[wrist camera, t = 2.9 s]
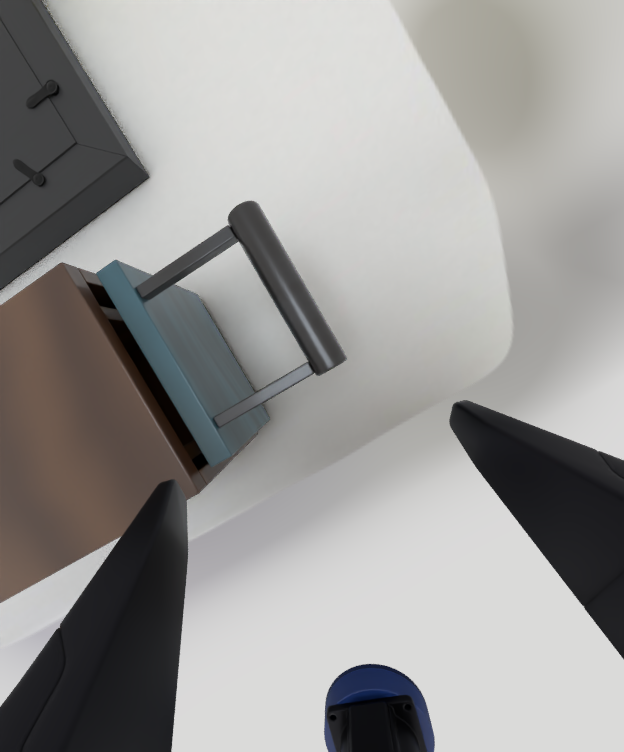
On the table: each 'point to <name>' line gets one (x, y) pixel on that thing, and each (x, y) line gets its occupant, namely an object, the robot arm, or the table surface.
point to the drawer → (213, 337)
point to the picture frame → (51, 141)
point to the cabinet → (75, 431)
